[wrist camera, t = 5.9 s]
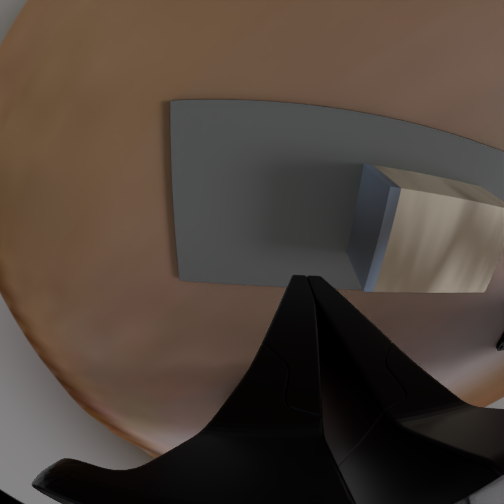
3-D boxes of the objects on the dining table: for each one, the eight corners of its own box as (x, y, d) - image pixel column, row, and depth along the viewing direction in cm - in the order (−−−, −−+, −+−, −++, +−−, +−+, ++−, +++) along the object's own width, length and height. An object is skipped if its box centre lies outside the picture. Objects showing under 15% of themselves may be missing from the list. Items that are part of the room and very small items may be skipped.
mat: (469, 288, 18) (471, 290, 17) (180, 277, 18) (179, 280, 17) (513, 155, 13) (516, 157, 12) (172, 100, 13) (170, 100, 12)
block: (346, 252, 16) (457, 259, 16) (363, 291, 13) (484, 292, 13) (363, 163, 14) (481, 186, 14) (390, 186, 11) (516, 211, 11)
